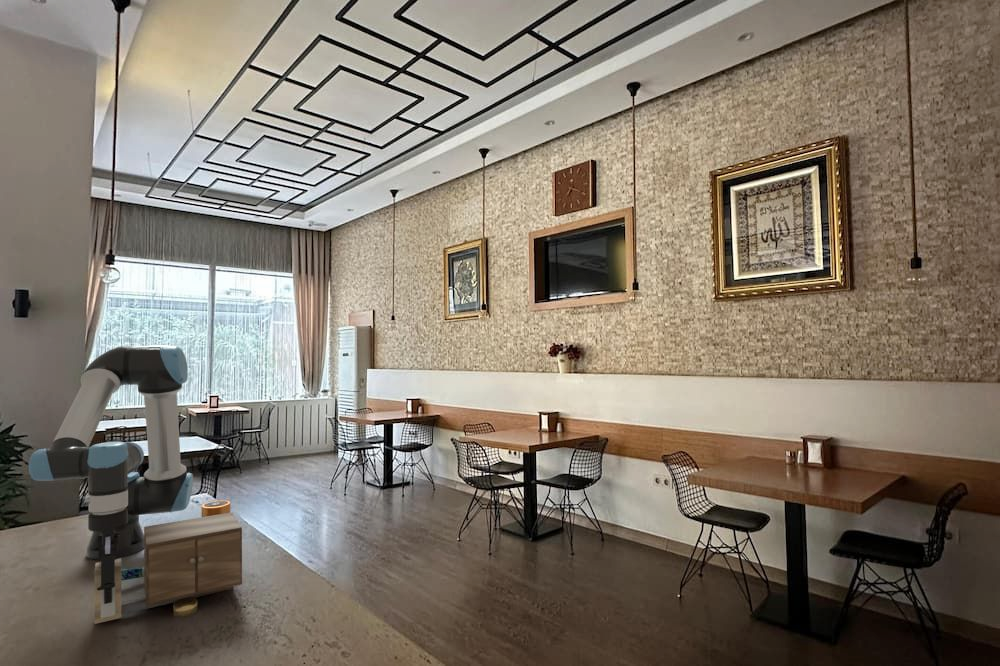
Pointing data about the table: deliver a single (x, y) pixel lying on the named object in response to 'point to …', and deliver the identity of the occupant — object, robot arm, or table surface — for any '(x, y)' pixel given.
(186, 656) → the table surface
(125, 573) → the knife
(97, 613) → the blade tool
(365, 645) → the table surface
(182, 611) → the token
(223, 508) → the battery
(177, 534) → the cabinet
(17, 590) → the table surface
